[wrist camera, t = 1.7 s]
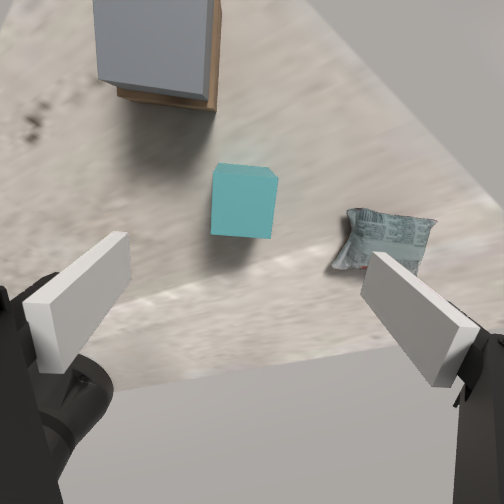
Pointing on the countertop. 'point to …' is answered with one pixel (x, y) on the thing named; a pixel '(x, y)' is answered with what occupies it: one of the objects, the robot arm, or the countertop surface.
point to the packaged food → (384, 239)
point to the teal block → (243, 201)
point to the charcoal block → (155, 45)
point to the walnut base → (180, 101)
